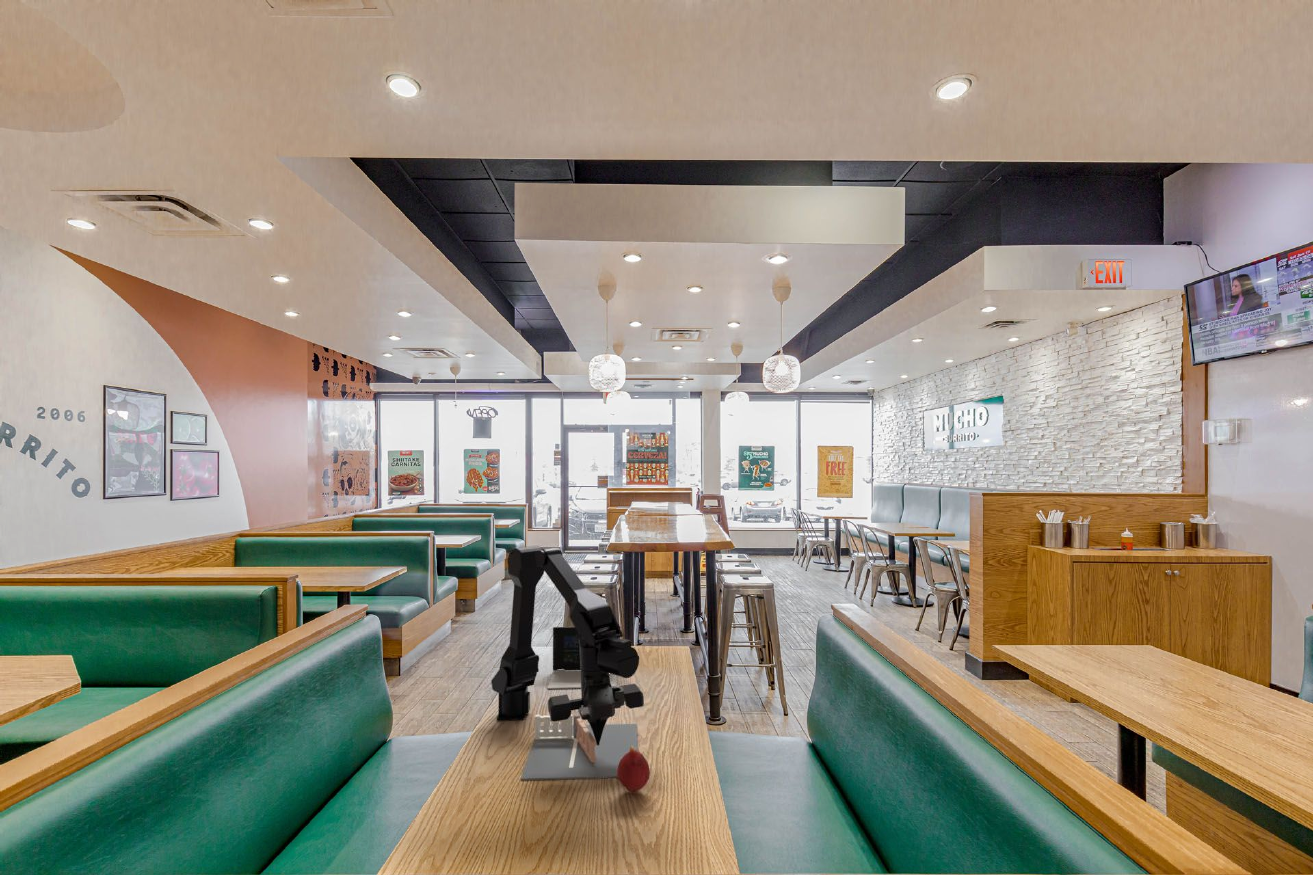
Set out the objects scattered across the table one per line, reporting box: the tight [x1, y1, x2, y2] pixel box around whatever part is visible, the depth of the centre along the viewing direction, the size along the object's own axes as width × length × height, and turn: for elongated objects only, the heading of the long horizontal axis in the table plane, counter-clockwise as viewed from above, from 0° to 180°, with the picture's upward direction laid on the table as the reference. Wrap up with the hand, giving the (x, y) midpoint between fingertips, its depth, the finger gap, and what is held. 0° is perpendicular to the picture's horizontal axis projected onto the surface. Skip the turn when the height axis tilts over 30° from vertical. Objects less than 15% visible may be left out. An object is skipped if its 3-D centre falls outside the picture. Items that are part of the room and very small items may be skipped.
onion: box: [617, 746, 651, 794], centre depth 107 cm, size 6×6×8 cm
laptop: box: [547, 626, 618, 690], centre depth 161 cm, size 18×12×13 cm
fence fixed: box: [534, 713, 573, 740], centre depth 127 cm, size 8×1×5 cm, turn 93°
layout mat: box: [520, 723, 639, 781], centre depth 122 cm, size 22×22×1 cm
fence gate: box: [572, 713, 596, 762], centre depth 122 cm, size 13×1×4 cm, turn 23°
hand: (597, 744), depth 120 cm, fingers closed
